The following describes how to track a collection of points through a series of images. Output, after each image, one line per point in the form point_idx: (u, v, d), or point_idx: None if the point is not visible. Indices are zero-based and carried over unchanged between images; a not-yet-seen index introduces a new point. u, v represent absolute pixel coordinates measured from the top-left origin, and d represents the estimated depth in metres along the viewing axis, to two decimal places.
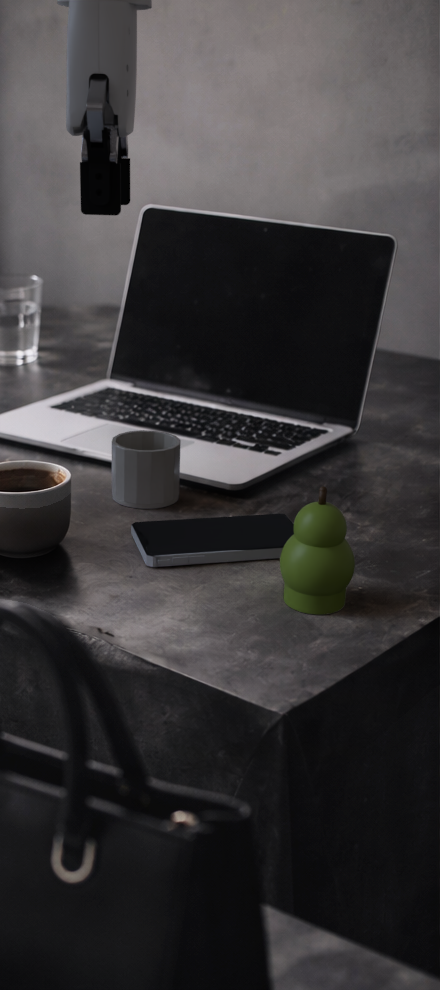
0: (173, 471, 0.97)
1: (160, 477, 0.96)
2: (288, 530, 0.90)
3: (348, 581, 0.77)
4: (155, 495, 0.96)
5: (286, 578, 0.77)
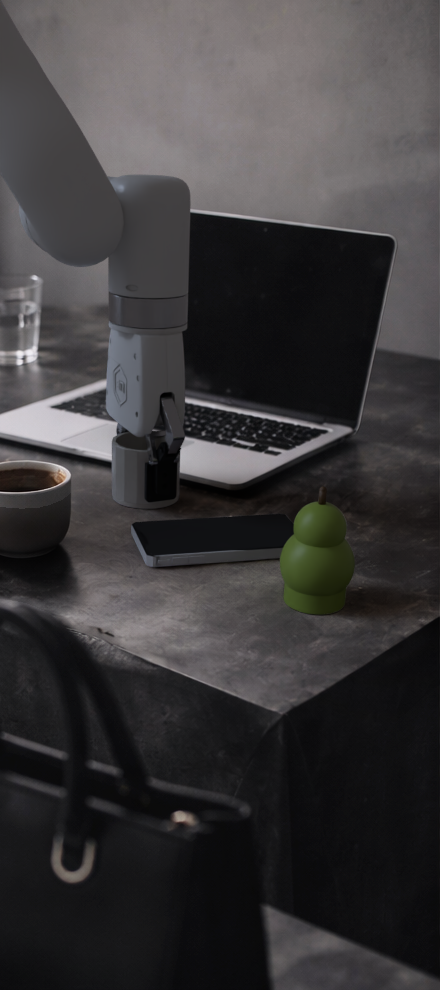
0: None
1: None
2: (288, 530, 0.90)
3: (348, 581, 0.77)
4: None
5: (286, 578, 0.77)
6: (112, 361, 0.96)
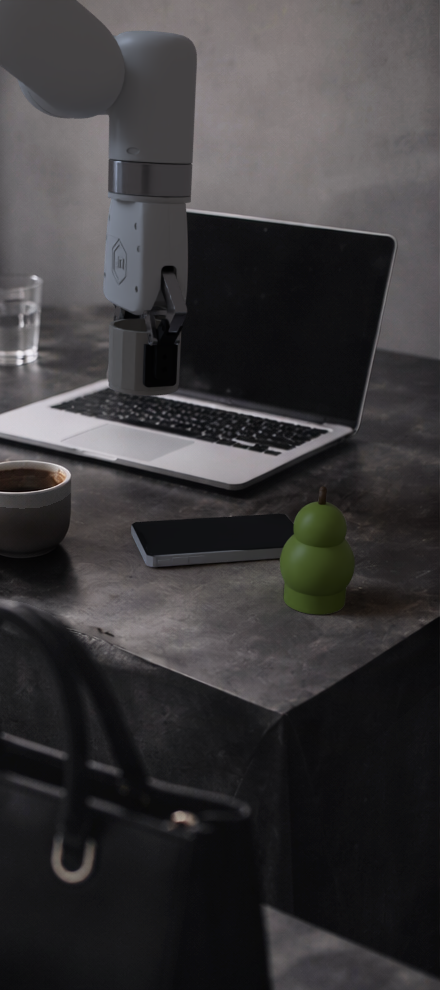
0: None
1: None
2: (288, 530, 0.90)
3: (348, 581, 0.77)
4: None
5: (286, 578, 0.77)
6: (111, 238, 0.91)
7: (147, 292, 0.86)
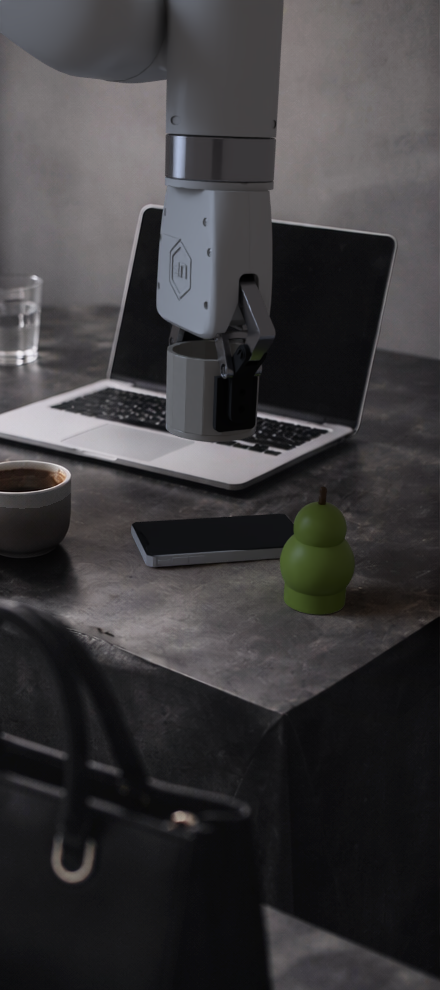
0: None
1: None
2: (288, 530, 0.90)
3: (348, 581, 0.77)
4: None
5: (286, 578, 0.77)
6: (168, 239, 0.70)
7: (221, 309, 0.65)
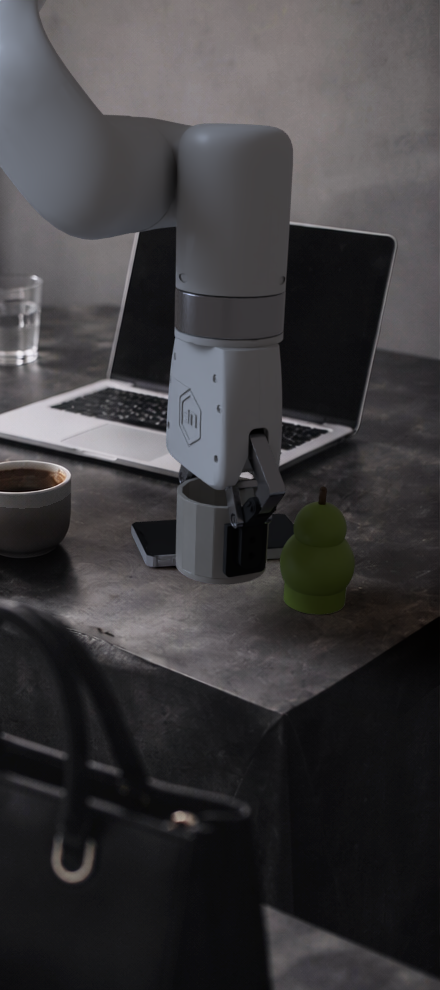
0: None
1: None
2: (288, 530, 0.90)
3: (348, 581, 0.77)
4: None
5: (286, 578, 0.77)
6: (177, 384, 0.70)
7: (231, 464, 0.65)
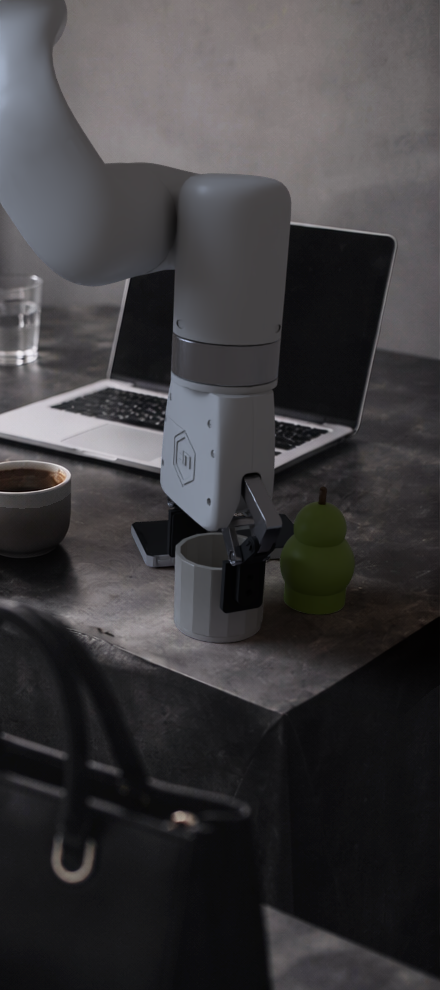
0: None
1: None
2: (288, 530, 0.90)
3: (348, 581, 0.77)
4: (234, 625, 0.72)
5: (286, 578, 0.77)
6: (173, 424, 0.71)
7: (223, 507, 0.67)
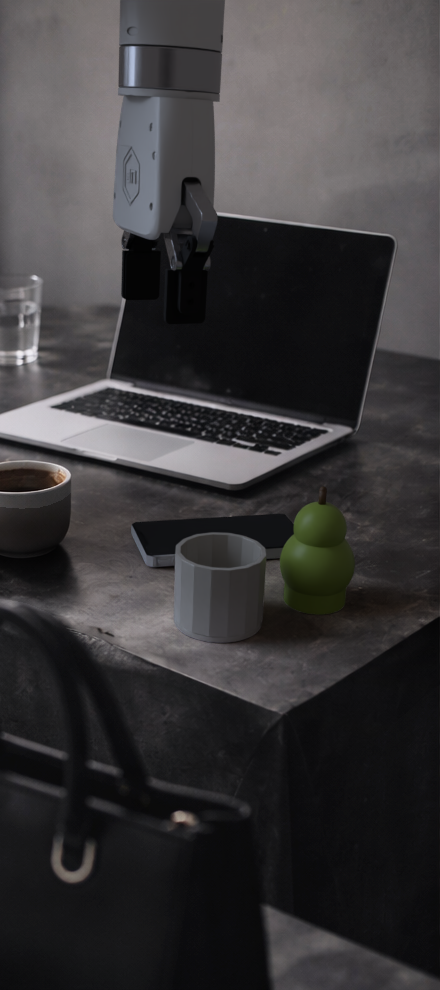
0: (257, 592, 0.73)
1: (241, 602, 0.72)
2: (288, 530, 0.90)
3: (348, 581, 0.77)
4: (234, 625, 0.72)
5: (286, 578, 0.77)
6: (122, 148, 0.75)
7: (164, 210, 0.70)
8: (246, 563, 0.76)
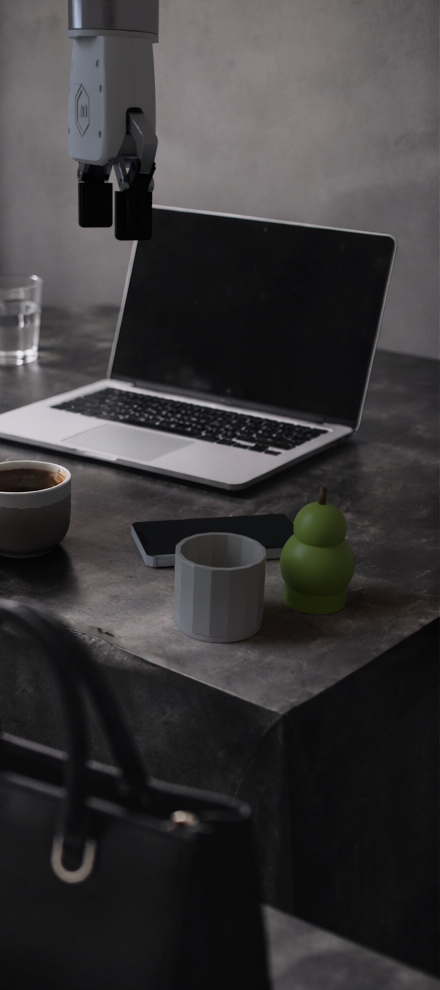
0: (257, 592, 0.73)
1: (241, 602, 0.72)
2: (288, 530, 0.90)
3: (348, 581, 0.77)
4: (234, 625, 0.72)
5: (286, 578, 0.77)
6: (74, 87, 0.84)
7: (111, 136, 0.79)
8: (246, 563, 0.76)
